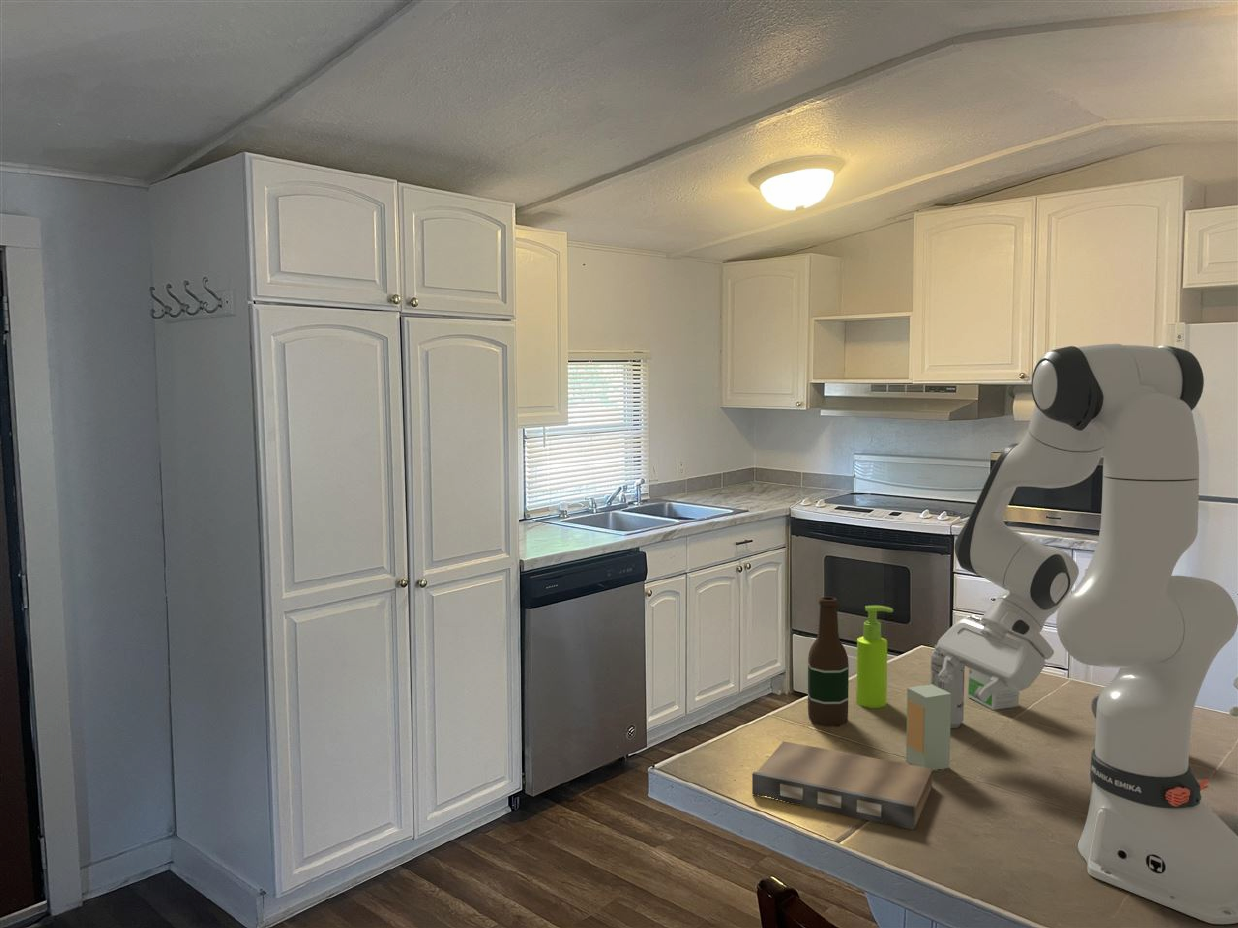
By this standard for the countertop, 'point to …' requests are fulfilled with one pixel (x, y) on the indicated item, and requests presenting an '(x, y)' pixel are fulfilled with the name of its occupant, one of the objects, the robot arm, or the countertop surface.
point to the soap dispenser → (872, 662)
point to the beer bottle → (828, 670)
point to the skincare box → (997, 700)
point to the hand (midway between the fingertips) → (960, 688)
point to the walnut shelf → (845, 784)
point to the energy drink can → (950, 686)
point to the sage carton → (928, 727)
